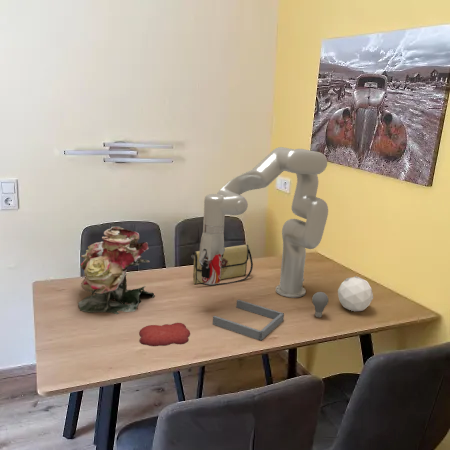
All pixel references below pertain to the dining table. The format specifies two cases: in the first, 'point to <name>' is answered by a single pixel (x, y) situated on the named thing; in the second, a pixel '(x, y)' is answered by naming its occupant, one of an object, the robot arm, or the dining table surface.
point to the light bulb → (319, 303)
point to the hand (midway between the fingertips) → (211, 273)
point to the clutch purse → (227, 264)
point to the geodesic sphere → (355, 294)
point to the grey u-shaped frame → (250, 331)
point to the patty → (164, 334)
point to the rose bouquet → (112, 272)
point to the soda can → (214, 270)
